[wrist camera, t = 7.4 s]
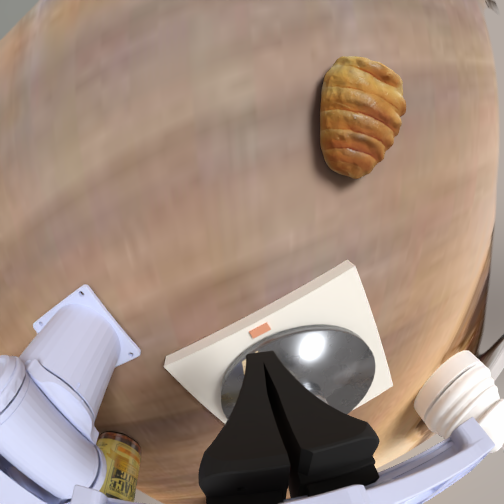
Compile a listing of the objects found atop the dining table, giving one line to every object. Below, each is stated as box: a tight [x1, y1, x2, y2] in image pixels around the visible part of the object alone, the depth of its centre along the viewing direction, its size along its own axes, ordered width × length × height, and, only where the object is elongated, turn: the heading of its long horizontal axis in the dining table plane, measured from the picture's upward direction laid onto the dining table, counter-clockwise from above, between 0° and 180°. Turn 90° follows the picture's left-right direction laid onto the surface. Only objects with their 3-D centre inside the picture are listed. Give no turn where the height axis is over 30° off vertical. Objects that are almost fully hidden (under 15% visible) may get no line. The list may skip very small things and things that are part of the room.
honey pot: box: [414, 351, 504, 454], centre depth 23 cm, size 13×13×18 cm
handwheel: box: [221, 324, 375, 419], centre depth 22 cm, size 15×15×4 cm
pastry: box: [320, 56, 406, 179], centre depth 17 cm, size 9×7×4 cm
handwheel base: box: [164, 260, 393, 424], centre depth 25 cm, size 18×18×2 cm
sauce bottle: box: [96, 432, 141, 502], centre depth 17 cm, size 6×6×20 cm
